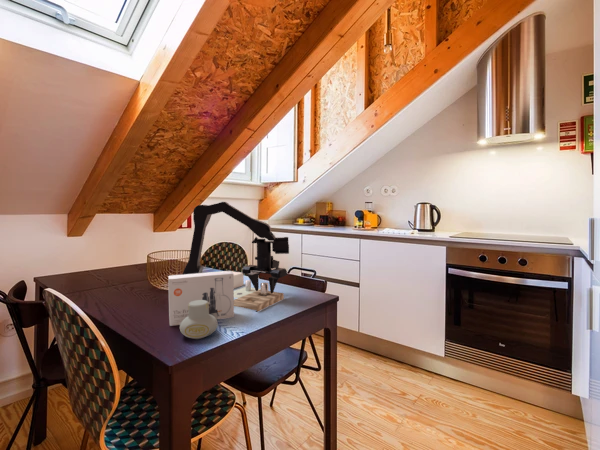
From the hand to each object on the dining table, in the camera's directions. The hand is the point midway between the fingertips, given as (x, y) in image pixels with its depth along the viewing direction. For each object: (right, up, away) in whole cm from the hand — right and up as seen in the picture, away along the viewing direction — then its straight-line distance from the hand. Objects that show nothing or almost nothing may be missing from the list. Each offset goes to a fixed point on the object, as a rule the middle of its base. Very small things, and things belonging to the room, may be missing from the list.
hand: (264, 291), depth 132 cm
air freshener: (-16, -6, -34) cm, 38 cm away
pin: (0, -4, 0) cm, 4 cm away
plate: (-10, -3, +11) cm, 15 cm away
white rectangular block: (-19, -2, +20) cm, 27 cm away
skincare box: (-19, -5, -21) cm, 29 cm away
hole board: (-2, -4, -3) cm, 5 cm away
